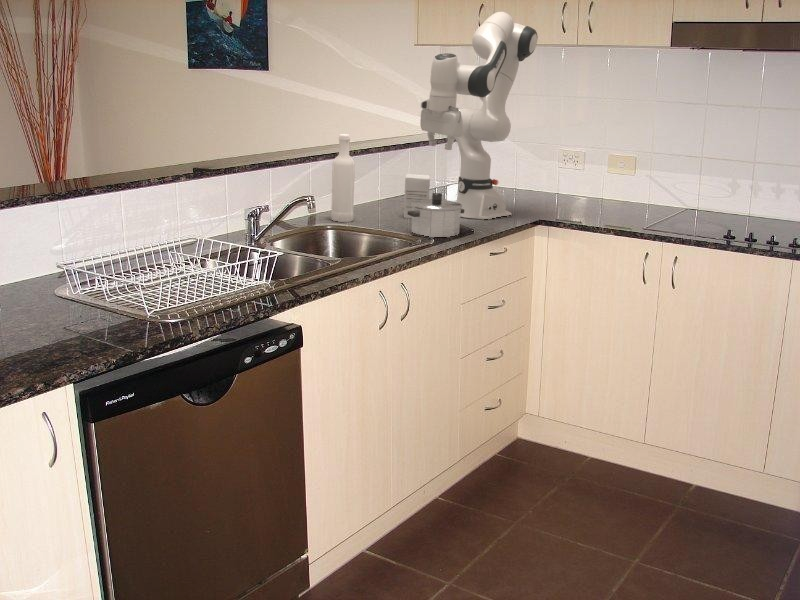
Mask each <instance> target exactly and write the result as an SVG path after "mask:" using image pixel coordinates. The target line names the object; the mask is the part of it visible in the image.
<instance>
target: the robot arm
mask: <svg viewBox="0 0 800 600" xmlns="http://www.w3.org/2000/svg"><path fill="white" fill-rule="evenodd" d="M538 37H539V36H538V32H537V30H536V29H534V28H533V27H531V26H528V25H523V24H520V23H517V22H514V19H513V18H512V16H511V15H510V14H509V13H507V12H506V11H497V12H494V13H493V14H491V15H489V16H488V17H487V18H486V19H485V20H483V21H482V22H481V24H480V26H479V27H477V29H476V30H475V32H474V33H473V35H472V38H471V40H472V43H471V44H472V47H473V50H474V52H475V53H476V54H477V55H478V56H479V58H481V59H483V60H486V62H485V63H484V64H480V65H476V64H475V65H473V64H462V63H461V62H459V61H458V57H457V55H456V54H454V53H450V52H449V53H439V54H436V55H435V56H434V57H433V59H432V64H431V69H430V81H429V82H430V87H431V88H430V92H429V98H427V99H426V100H422V101H421V102H420V109H421V111H420V121H419V124H420V129H421V131H423V132H427V138H428V143H429V144H428V145H429V146H431V147H436V145H437V144H436V143H437V140H436V139H435V135H436V134H438V135H442V136H446V139H447V141H446V143H445V144H444V149H445V150H447V151H451V150H453V149H452V148H453V143H454V141H456V143H457V147H458V149H459V154H460V169H459V176H458V183H457V191H458V192H457V199H456V202H457V203H460V204H461V205H462V208H461V209H464V213H460V218H465V219H477V220H478V219H479V220H484V219H488V220H493V219H492V218H495V219H497V218H496V217H501V216H506V215H511V216H512V212H511V211H508V210H506V209H507V205H506V204H507V203H506V200H505V198H504V197H503V196H502V195H501V194H500V193H498V191H497V190H496V189H494V188H493V187H494V186H498V184H499V180H498V179H495V178H493V179H492V178H491V165H492V164H491V163H492V159H491V156H490V154H489V152H487V151H486V150H485V149H484V146H483V143H482V142H488V143H494V142H495V143H496V142H503V141H505V140H506V139H507V138H508V137H509V134H510V132H511V128H512V126H511V125H512V123H511V121H510V118H509V116H508V115H507V112H506V104H507V103H506V102H507V100H508V97H509V94H510V92H511V89H512V88H513V85H514V82H515V79H516V77H517V74H518V71H519V67H520V62H523V61H524V60H526V58H529V57H530V56H531V55H532V54H533V53H535V50H536V48H537V43H538ZM457 95H462V96H463V95H464V96H473V97H477V98H479V99H480V100H481V102H482V103H483V104H482V106H481V108H480V109H479V108H478V109H477V108H471V107H470V108H469V107H464V108H459V107H457V99H458V98H457ZM493 185H494V186H493ZM501 218H502V217H501Z"/></svg>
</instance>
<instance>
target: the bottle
mask: <svg viewBox="0 0 800 600" xmlns="http://www.w3.org/2000/svg"><path fill="white" fill-rule="evenodd" d="M350 140H351V136H350V134H349V133H348V134H347V133H340V134H339V137H338V155H337V156H336V157H335V158H334V160H333V163H332V178H331V179H332V180H331V211H330V216H331V217H330V219H331V221H332V220H333V222H335V221H338V222H337V223H350V222H353V220H354V202H355V201H354V200H355V199H354V198H355V197H354V196H355V194H354V193H355V173H356V171H355V170H356V167H355V165H356V164H355V161H354V159H353V157H352V156H351V155H350Z"/></svg>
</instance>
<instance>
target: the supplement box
mask: <svg viewBox="0 0 800 600" xmlns="http://www.w3.org/2000/svg"><path fill="white" fill-rule="evenodd" d="M430 178H431V176H430V175H429V174H418V173H417V174H414V173H406V174H405V181H404V198H403V199H404V200H403V204H404V205H403V218H404V219H412V216H410V215H408V211H412V209H413V206H412V205H411V203H412V201H415V200H421V199H430V186H431V185H430V183H431V182H430V181H431V180H430Z"/></svg>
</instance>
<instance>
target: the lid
mask: <svg viewBox="0 0 800 600" xmlns="http://www.w3.org/2000/svg"><path fill="white" fill-rule="evenodd" d="M431 197H432V198H429V199H421V200H415V201H412V203H411V205H412V206H413V207H415V208H418V209H422V210H429V211H456V210H460V209H461V208H462V205H461V204H460V203H457V201H452V200H447V199H443V193H441V192H433V193H432V196H431Z"/></svg>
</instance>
